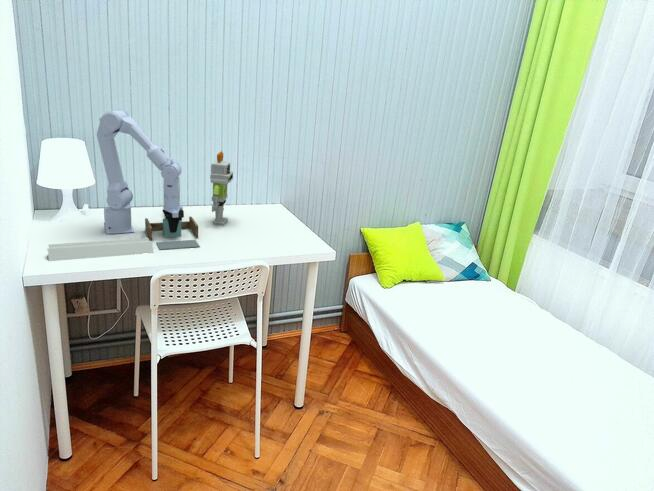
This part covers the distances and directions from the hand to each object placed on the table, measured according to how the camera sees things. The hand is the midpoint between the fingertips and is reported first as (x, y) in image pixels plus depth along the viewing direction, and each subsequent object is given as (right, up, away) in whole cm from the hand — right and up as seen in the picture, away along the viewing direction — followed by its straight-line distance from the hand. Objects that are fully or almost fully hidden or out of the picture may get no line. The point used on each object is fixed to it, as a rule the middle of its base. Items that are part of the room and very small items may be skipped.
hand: (171, 230), depth 181 cm
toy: (+14, +4, +20) cm, 25 cm away
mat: (+5, -6, -9) cm, 12 cm away
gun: (-5, +4, +17) cm, 18 cm away
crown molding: (-17, -8, -20) cm, 28 cm away
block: (0, -2, +1) cm, 2 cm away
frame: (0, -2, +1) cm, 2 cm away
